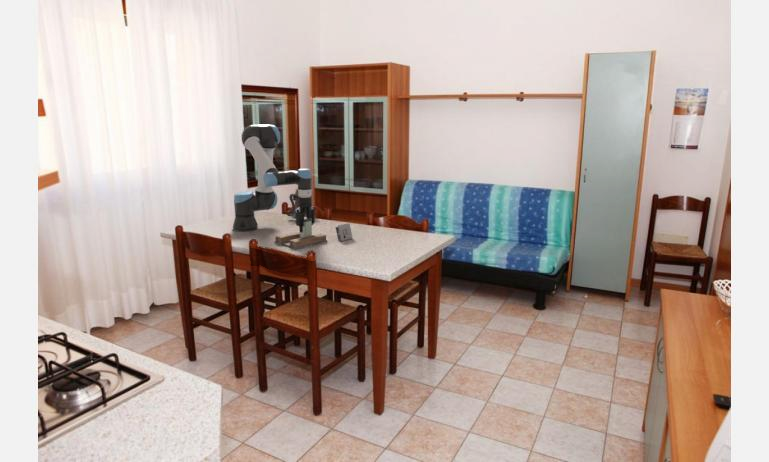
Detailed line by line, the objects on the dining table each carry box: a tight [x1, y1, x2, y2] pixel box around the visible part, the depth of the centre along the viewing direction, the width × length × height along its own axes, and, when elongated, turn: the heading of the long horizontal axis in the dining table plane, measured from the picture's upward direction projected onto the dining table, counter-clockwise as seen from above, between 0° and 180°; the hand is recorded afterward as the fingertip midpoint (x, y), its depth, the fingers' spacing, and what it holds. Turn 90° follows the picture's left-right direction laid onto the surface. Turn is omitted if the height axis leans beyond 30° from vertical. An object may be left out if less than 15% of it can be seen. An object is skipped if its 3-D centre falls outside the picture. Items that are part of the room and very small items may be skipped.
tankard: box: [286, 187, 316, 220], centre depth 343 cm, size 24×17×20 cm
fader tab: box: [300, 217, 313, 238], centre depth 281 cm, size 6×4×12 cm
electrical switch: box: [335, 222, 353, 242], centre depth 288 cm, size 9×5×9 cm, turn 141°
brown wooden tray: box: [274, 230, 328, 250], centre depth 280 cm, size 20×22×4 cm
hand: (305, 236), depth 282 cm, fingers closed on fader tab, 4 cm apart
